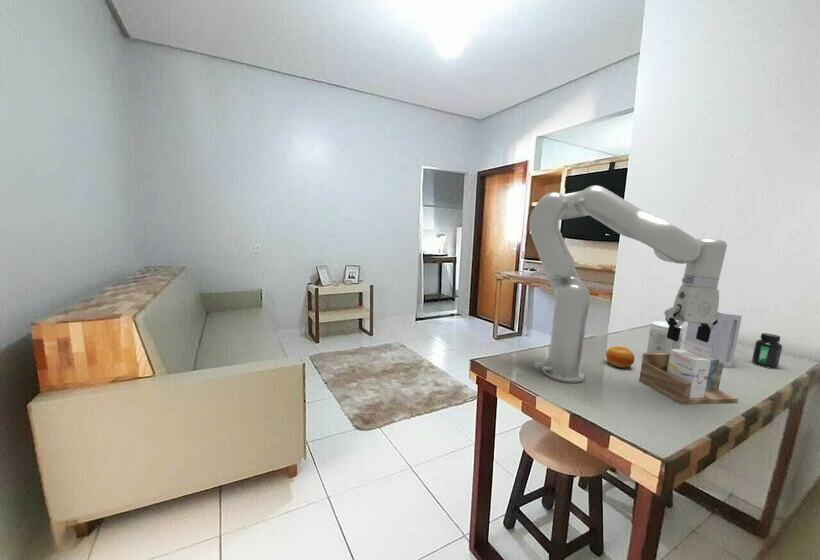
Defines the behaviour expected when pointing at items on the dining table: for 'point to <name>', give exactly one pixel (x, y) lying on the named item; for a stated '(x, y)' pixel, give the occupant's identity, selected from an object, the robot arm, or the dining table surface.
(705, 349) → the ink cartridge box
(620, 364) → the fruit
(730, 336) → the game console
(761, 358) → the supplement bottle
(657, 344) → the supplement tub
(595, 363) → the dining table surface
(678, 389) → the wooden slotted rack
